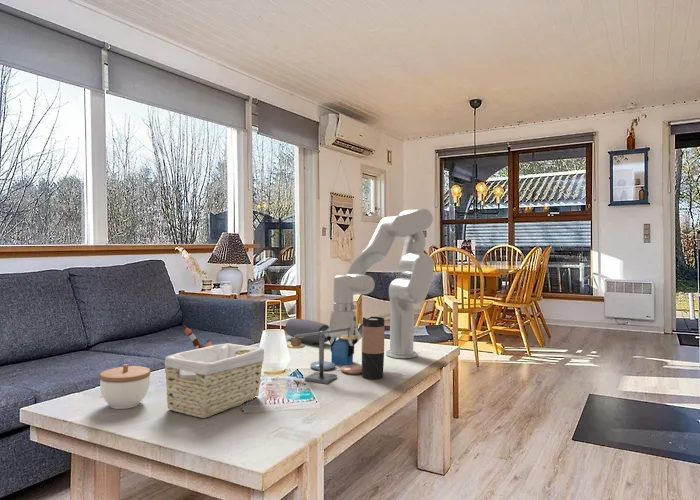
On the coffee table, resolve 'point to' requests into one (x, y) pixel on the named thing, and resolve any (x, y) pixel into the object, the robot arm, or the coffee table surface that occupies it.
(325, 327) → the bluetooth speaker
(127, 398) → the lidded bowl
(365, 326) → the travel mug
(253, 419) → the coffee table surface
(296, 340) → the balance
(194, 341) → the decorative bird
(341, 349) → the perfume bottle
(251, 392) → the storage basket
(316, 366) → the pale blue dome
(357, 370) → the peach glossy round dome
